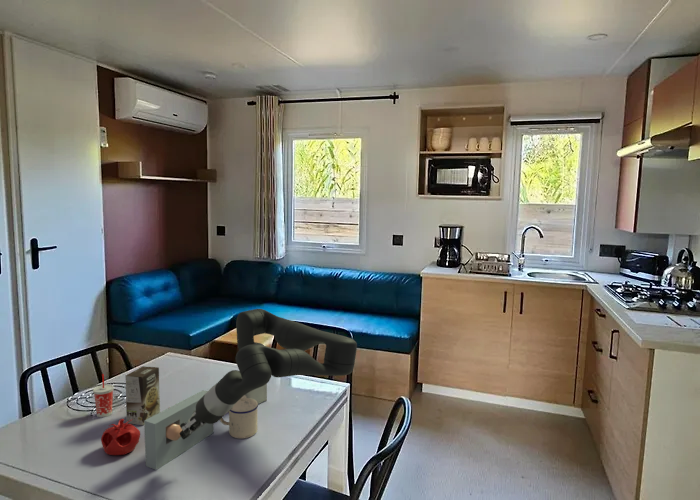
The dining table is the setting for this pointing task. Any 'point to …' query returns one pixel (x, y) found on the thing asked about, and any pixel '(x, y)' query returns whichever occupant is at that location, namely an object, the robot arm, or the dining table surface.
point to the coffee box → (142, 394)
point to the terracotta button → (173, 431)
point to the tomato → (120, 438)
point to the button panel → (156, 442)
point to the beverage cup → (103, 399)
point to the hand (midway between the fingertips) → (183, 435)
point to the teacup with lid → (242, 418)
